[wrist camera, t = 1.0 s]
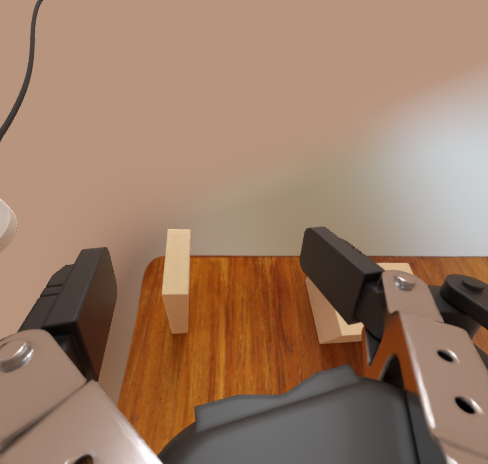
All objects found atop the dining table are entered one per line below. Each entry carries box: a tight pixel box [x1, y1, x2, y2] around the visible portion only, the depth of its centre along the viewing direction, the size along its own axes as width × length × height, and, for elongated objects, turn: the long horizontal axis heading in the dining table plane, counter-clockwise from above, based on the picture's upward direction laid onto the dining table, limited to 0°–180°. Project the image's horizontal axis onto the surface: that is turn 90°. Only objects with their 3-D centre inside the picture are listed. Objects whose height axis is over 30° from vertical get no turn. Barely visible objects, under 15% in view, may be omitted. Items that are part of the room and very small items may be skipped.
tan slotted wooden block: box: [305, 263, 413, 344], centre depth 35 cm, size 15×9×6 cm, turn 95°
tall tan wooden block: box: [162, 229, 191, 334], centre depth 27 cm, size 6×2×15 cm, turn 5°
